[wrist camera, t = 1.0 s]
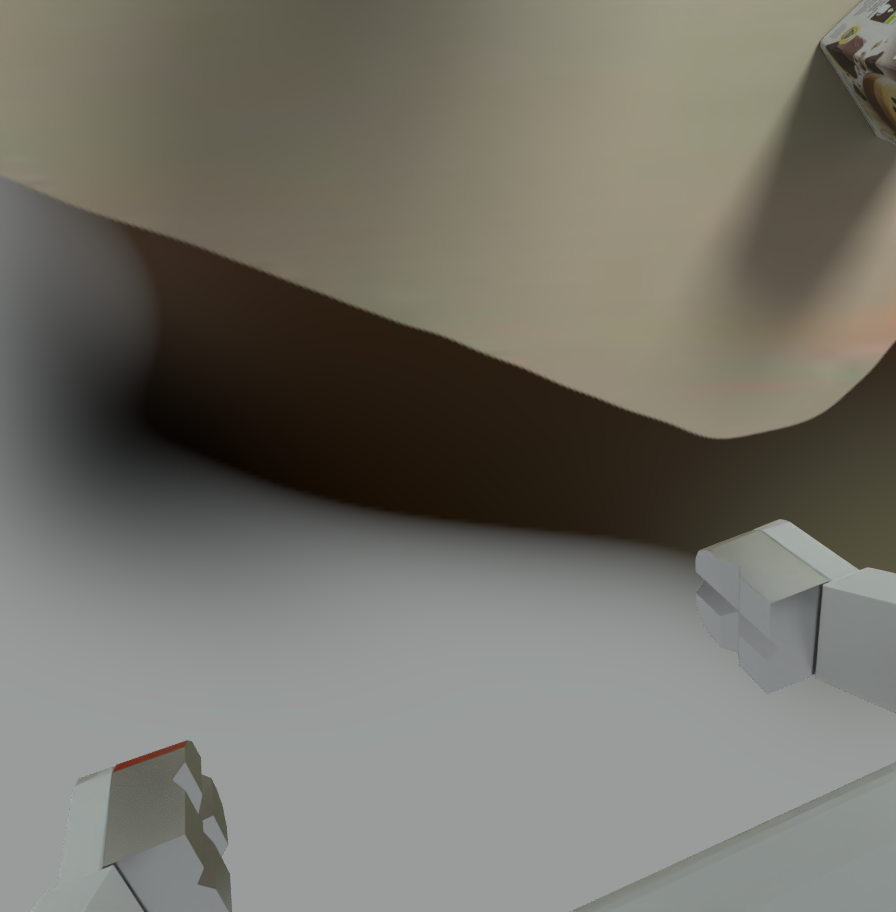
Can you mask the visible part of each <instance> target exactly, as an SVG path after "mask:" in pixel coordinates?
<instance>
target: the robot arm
mask: <svg viewBox="0 0 896 912" xmlns="http://www.w3.org/2000/svg"><path fill="white" fill-rule="evenodd" d="M696 572H697V573H698V574H699V575H700V576H701V577H703V579H704V580H703V582H702V584H701V585H700V587H699V589H698V591H697V592H696V597H697V610H698V612H699V615H700V618H701V620H702V623H703V625H704V627H705V628H706V630H707V631H708V633H709V634H710V636H711V637H712V638H713V639H714V640H715V642H716V643H717V644H718V645H719V646H720V647H722V648H725V649H728V650H731V651H734V652H737V653H738V657H739V666H740V667H741V668H742V669H743V670H744V671H745V672H746V673H747V674H748V675H749V676H750V677H751V678H752V679H753V680H754V681H755V682H756V683H757V684H758V685H759V686H760V687H761V688H762V689H763V690H764V691H765V692H766V693H767V694H769V693H771V692H774V691H777V690H779V689H782V688H784V687H787V686H789V685H792V684H795V683H797V682H800V681H802V680H805V679H807V678H810V677H813V676H815V678H816V679H818V680H820V681H822V682H824V683H827V684H829V685H832V686H834V687H836V688H838V689H841V690H843V691H845V692H848V693H850V694H852V695H855V696H857V697H859V698H861V699H864V700H866V701H868V702H871V703H873V704H875V705H878V706H880V707H882V708H885V709H887V710H889V711H892V712H894V713H896V574H895V573H891V572H886V571H881V570H877V569H873V568H868V567H867V568H865V569H862V570H858V569H857V568H855V567H854V566H852V565H851V564H849V563H848V562H847V561H845V560H844V559H842V558H841V557H839V556H838V555H837V554H835V553H834V552H832V551H831V550H829V549H828V548H826V547H825V546H823V545H822V544H821V543H819V542H818V541H816V540H815V539H813V538H812V537H811V536H809V535H808V534H806V533H805V532H803V531H802V530H800V529H799V528H797V527H796V526H795V525H793V524H792V523H790V522H788V521H785V520H780V519H779V520H777V521H774V522H772V523H769V524H766V525H764V526H761V527H759V528H756V529H754V530H753V531H750V532H746V533H744V534H741V535H739V536H736V537H733V538H731V539H728V540H726V541H723V542H720V543H718V544H715V545H713V546H710V547H707V548H704V549H702V550H700V551H699V552H698V554H697V557H696ZM227 846H228V837H227V825H226V821H225V816H224V810H223V806H222V803H221V800H220V797H219V794H218V791H217V789H216V787H215V785H214V783H213V780H212V779H211V778H209V777H207V776H204V775H202V774H201V757H200V755H199V753H198V751H197V749H196V748H195V746H194V744H193V742H192V741H188V740H187V741H184V742H181V743H178V744H175V745H172V746H169V747H166V748H164V749H160V750H157V751H155V752H152V753H149V754H146V755H143V756H140V757H137V758H134V759H132V760H129V761H126V762H123V763H120V764H117V765H116V766H114V767H111V768H108V769H105V770H103V771H99V772H96V773H93V774H90V775H87V776H85V777H81V778H79V779H78V781H77V783H76V784H75V786H74V788H73V790H72V796H71V802H70V809H69V815H68V822H67V827H66V833H65V840H64V846H63V852H62V858H61V864H60V871H59V877H58V883H57V887H56V888H53V889H51V890H48V891H46V892H45V893H44V894H43V895H42V897H41V898H40V900H39V901H38V902H37V904H36V905H35V906H34V908H33V909H32V911H31V912H232V901H231V885H230V884H231V883H230V873H229V871H228V869H227V867H226V865H225V864H224V861H223V859H222V855H223V853H224V851H225V849H226V848H227ZM570 912H896V762H895V763H892V764H890V765H888V766H886V767H884V768H882V769H880V770H877V771H875V772H873V773H871V774H869V775H866V776H864V777H862V778H860V779H858V780H856V781H853V782H851V783H849V784H847V785H844V786H842V787H840V788H838V789H836V790H834V791H831V792H829V793H827V794H825V795H823V796H821V797H819V798H816V799H814V800H812V801H810V802H808V803H805V804H803V805H801V806H799V807H797V808H795V809H793V810H790V811H788V812H786V813H784V814H782V815H779V816H777V817H775V818H773V819H771V820H769V821H766V822H764V823H762V824H760V825H758V826H756V827H753V828H751V829H749V830H747V831H745V832H742V833H740V834H738V835H736V836H734V837H732V838H729V839H727V840H725V841H723V842H721V843H719V844H716V845H714V846H712V847H710V848H708V849H706V850H704V851H701V852H699V853H697V854H695V855H693V856H690V857H688V858H686V859H684V860H682V861H680V862H677V863H675V864H673V865H671V866H669V867H667V868H665V869H662V870H660V871H658V872H656V873H653V874H651V875H649V876H647V877H645V878H642V879H640V880H638V881H636V882H634V883H632V884H629V885H627V886H625V887H623V888H621V889H619V890H616V891H614V892H612V893H610V894H608V895H605V896H603V897H601V898H599V899H596V900H594V901H592V902H590V903H588V904H586V905H583V906H581V907H579V908H577V909H575V910H573V911H570Z"/></svg>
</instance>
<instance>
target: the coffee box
mask: <svg viewBox="0 0 896 912" xmlns="http://www.w3.org/2000/svg"><path fill="white" fill-rule="evenodd" d="M820 47H821V48H822V50H823V52H824V53H825V55H826V57H827V58H828V60H829V61H830V63H831V65H832V66H833V68H834V69H835V71H836V72H837V74H838V76H839V77H840V79H841V80H842V82H843V83H844V85H845V87H846V88H847V90H848V91H849V93H850V94H851V96H852V98H853V99H854V101H855V102H856V104H857V106H858V107H859V109H860V110H861V112H862V114H863V115H864V117H865V118H866V120H867V122H868V123H869V125H870V126H871V128H872V130H873V131H874V133H875V134H876V136H877V137H879V138H881V139H883V140H885V141H887V142H889V143H892V144H894V145H896V0H862V1H861V2H860V3H859V4H858V5H857V6H856V7H855V8H854V9H853V10H852V11H851V12H850V13H849V14H848V15H847V16H846V17H845V18H843V19H842V20H841V21H840V22H839V23H838V24H837V25H836V26H835V27H834V28H833V29H832V30H831V31H830V32H829V33H828V34H827V35H826V36H825V37H824V38H823V39H822V40H821V42H820Z"/></svg>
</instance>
